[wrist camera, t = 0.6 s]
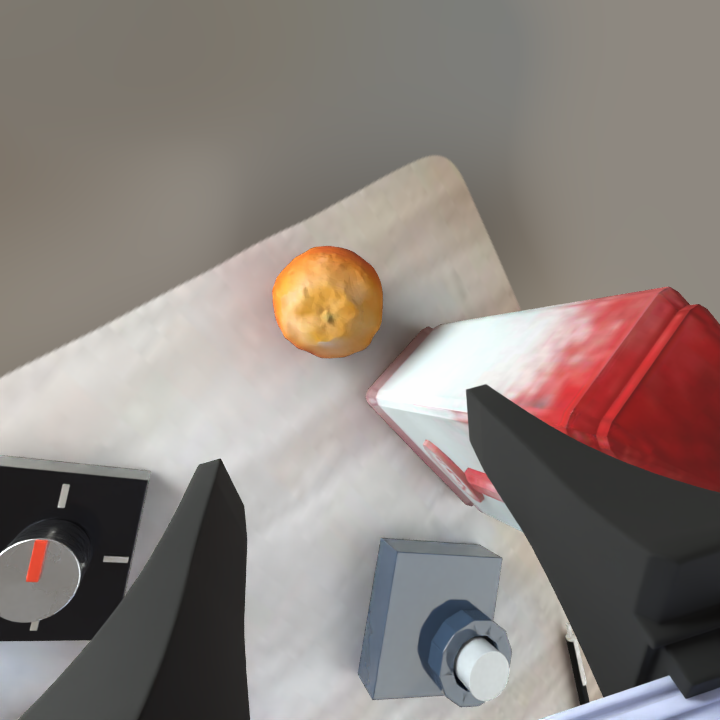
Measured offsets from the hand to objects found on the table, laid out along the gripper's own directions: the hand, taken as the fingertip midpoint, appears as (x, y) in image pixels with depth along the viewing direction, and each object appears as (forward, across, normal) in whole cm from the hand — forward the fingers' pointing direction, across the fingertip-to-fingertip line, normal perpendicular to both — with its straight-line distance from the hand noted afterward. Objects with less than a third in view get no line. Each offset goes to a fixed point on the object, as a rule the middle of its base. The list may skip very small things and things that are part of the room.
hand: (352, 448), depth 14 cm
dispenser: (+12, -2, +31) cm, 33 cm away
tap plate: (+14, +20, +14) cm, 28 cm away
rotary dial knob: (+11, +19, +12) cm, 25 cm away
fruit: (+24, 0, +7) cm, 25 cm away
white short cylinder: (+7, -5, +32) cm, 33 cm away
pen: (+6, -15, +48) cm, 51 cm away
